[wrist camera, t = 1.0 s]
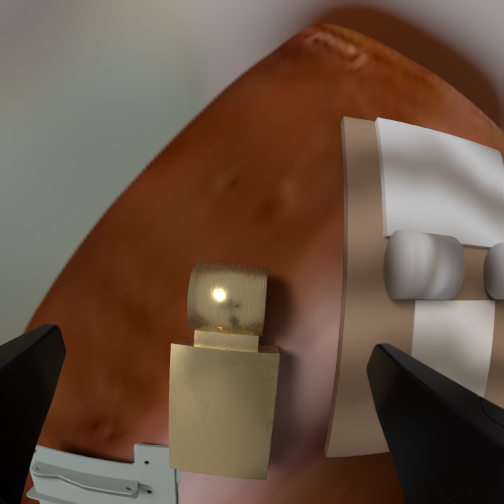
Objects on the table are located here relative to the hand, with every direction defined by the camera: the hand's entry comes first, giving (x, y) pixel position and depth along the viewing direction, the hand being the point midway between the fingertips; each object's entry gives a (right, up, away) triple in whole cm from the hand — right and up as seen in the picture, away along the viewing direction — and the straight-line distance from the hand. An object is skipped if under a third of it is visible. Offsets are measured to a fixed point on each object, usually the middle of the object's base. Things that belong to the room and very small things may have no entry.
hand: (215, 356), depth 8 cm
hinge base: (+16, 0, +11) cm, 19 cm away
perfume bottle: (-1, -5, +11) cm, 12 cm away
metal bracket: (-11, -18, +10) cm, 23 cm away
